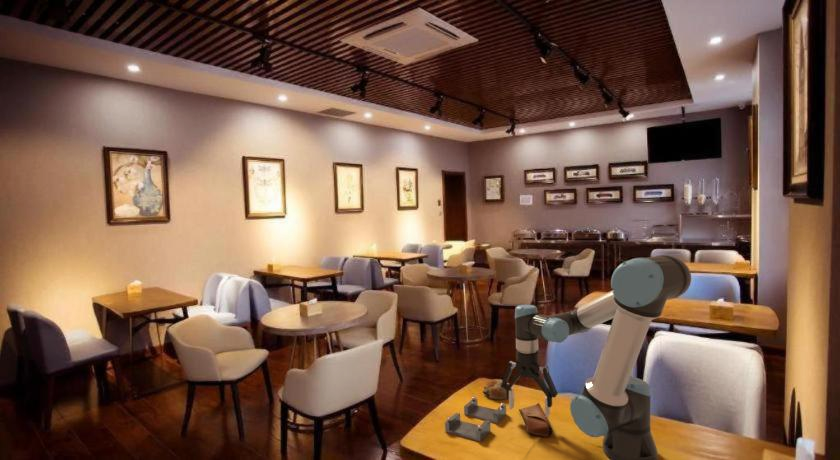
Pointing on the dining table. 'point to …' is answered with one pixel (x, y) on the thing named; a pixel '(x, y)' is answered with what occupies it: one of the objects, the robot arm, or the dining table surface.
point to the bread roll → (495, 390)
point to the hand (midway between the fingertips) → (529, 411)
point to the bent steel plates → (472, 430)
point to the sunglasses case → (536, 420)
